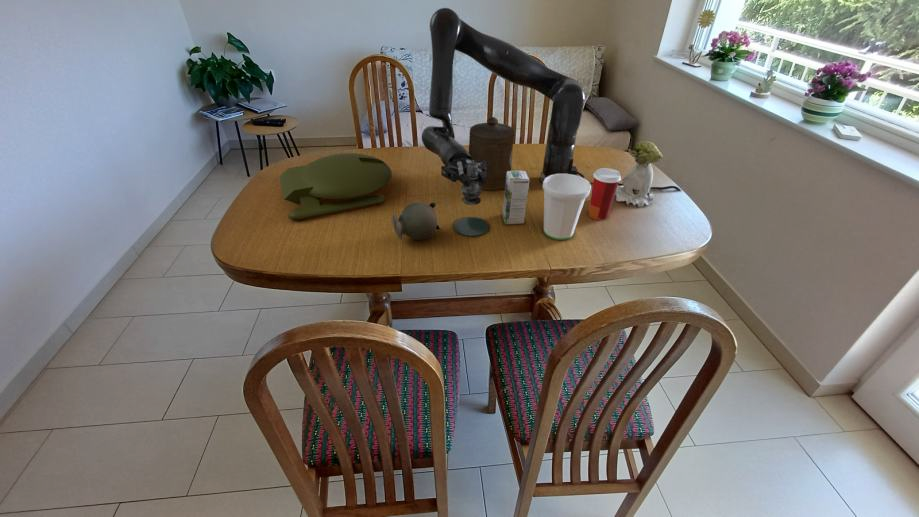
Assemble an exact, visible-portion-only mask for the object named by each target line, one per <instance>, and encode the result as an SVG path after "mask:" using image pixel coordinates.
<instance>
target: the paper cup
mask: <svg viewBox="0 0 919 517" xmlns="http://www.w3.org/2000/svg"><path fill="white" fill-rule="evenodd" d="M592 177H593V181H592V183H593V184H592V186H591V194H590V195H591V196H590V201H589V209H588V216H589V217H590V218H592V219H593V220H598V221H603V220H606V219H608V216H609V213H610V211H611V207H612V204H613V202H614V198H615V196H616V194H615V193H616V190H617V187H618V184H619V183H620V181H622V176H621V172H620V171H619V170H616V169H614V168H610V167H601V168H597V169H596V170H595V171H594V173H593V174H592Z"/></svg>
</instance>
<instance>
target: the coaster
mask: <svg viewBox="0 0 919 517" xmlns="http://www.w3.org/2000/svg"><path fill="white" fill-rule="evenodd" d="M453 228H454V231H455V232H456V233H457V234H459V235H461V236H464V237H470V238H471V237H472V238H473V237H474V238H475V237H480V236H483V235H485V234H486V233H487V232H488V231H489V224H488V222H487V221H485V220H484V219H482V218H480V217H475V216H468V217H462V218H460V219H458V220H456V221H455V222H454V225H453Z"/></svg>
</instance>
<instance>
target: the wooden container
mask: <svg viewBox="0 0 919 517" xmlns="http://www.w3.org/2000/svg"><path fill="white" fill-rule="evenodd" d="M514 140H515V129H514V128H513V127H512V126H510V125H508V124H504V123H499V120H498V118H496V117H494V116H491V117H488V118H487V120H486V122H482V123H481V122H480V123H477V124H473V125H472V126H471V127H470V129H469V141H468V153H469V154H470V156H471V158H472V160H474V161H476V162H477V163H482V161H486V166H487V171H486V183H485V184H484V185H481V184H480V182H479V181H478V185H479V186H481V187H482V191H496V190H501V189H505V184H506V174H507V171H512V167H513V166H512V164H513V151H514V150H513V149H514Z"/></svg>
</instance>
